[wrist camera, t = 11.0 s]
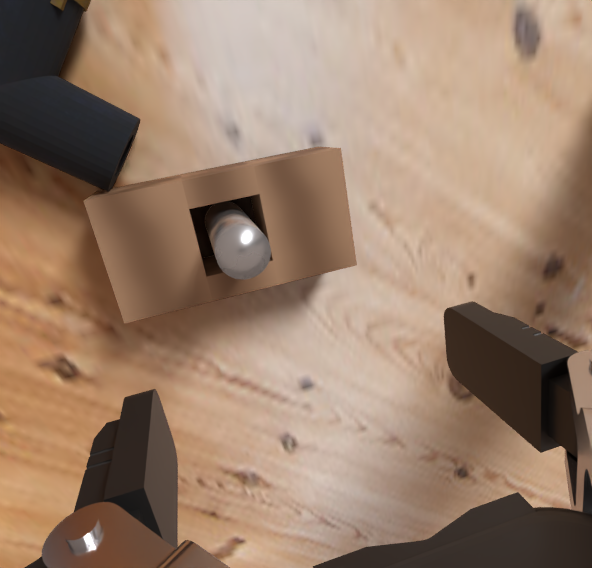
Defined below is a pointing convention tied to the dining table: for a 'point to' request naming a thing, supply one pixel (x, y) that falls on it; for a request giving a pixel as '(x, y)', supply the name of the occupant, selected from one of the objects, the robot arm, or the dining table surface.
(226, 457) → the dining table surface
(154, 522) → the robot arm
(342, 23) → the dining table surface
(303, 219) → the socket block
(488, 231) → the dining table surface
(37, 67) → the pipe connector
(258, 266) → the pin
